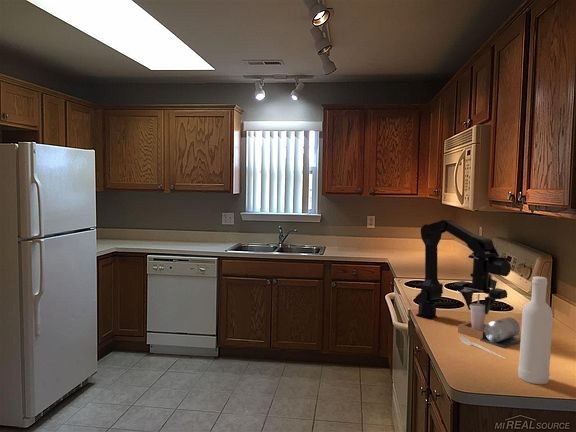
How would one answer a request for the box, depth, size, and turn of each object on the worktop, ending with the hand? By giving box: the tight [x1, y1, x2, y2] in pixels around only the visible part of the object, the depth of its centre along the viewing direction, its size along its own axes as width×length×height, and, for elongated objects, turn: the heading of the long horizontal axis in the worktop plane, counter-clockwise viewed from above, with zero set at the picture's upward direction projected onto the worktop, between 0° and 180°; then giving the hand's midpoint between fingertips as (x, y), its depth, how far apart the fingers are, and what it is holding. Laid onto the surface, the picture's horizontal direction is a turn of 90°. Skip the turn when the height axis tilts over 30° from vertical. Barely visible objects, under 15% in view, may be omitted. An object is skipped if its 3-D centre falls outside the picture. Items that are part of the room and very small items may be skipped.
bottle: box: [517, 275, 554, 385], centre depth 132 cm, size 8×8×30 cm
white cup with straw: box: [469, 293, 487, 331], centre depth 173 cm, size 6×6×14 cm
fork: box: [458, 334, 508, 360], centre depth 157 cm, size 3×20×2 cm, turn 25°
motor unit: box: [457, 316, 521, 349], centre depth 169 cm, size 19×13×8 cm
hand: (478, 312), depth 173 cm, fingers closed on white cup with straw, 6 cm apart
